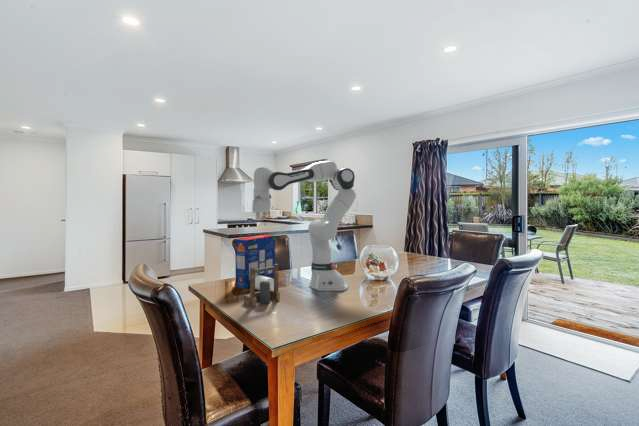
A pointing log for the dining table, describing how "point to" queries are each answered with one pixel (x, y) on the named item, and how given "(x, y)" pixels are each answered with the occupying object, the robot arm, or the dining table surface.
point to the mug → (260, 278)
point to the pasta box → (253, 257)
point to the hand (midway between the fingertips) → (261, 219)
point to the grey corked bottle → (264, 292)
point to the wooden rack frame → (255, 296)
